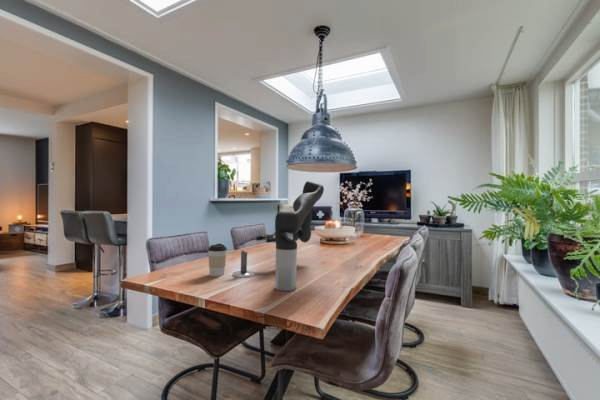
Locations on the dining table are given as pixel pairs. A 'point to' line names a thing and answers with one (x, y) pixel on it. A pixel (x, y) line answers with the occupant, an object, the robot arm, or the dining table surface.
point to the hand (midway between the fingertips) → (261, 239)
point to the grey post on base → (243, 267)
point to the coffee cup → (217, 259)
